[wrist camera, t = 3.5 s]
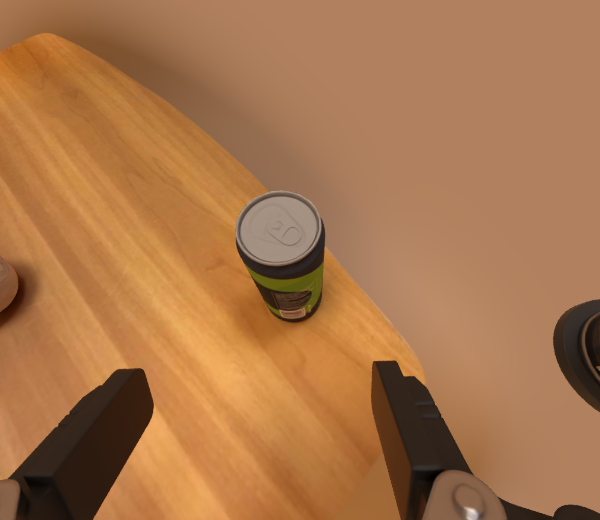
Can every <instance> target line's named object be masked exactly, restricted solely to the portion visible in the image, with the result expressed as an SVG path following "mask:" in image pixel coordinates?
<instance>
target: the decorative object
mask: <svg viewBox="0 0 600 520" xmlns="http://www.w3.org/2000/svg"><path fill="white" fill-rule="evenodd" d="M17 290H18V277H17V274H16V272H15V270H14V268H13V267H12V266H11V265H10V264H9V263H8V262H7V261H6V260H5V259H3V258H2V257H1V256H0V312H1V311H2V310H3V309H5V308H6V307H7V306H8V305H9V304H10V303H11V302H12V300H13V299H14V297H15V295H16V293H17Z"/></svg>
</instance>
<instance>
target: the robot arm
mask: <svg viewBox="0 0 600 520" xmlns="http://www.w3.org/2000/svg"><path fill="white" fill-rule="evenodd" d="M578 349H579V353H580V356H581V359H582V361H583V364H584V366H585V367H586V369H587V371H588V372H589V374H590V375H591V377H592V378H593V379H594V380H595V382H596V383H597V384H598V385H599V386H600V312H598V313H596V314H593V315H592V316H590V317H589V318H587V319H586V320H585V321H584V323H583V324H582V326H581V328H580V330H579V334H578ZM371 402H372V410H373V415H374V419H375V423H376V427H377V431H378V434H379V438H380V442H381V446H382V449H383V453H384V457H385V461H386V465H387V468H388V472H389V476H390V480H391V483H392V487H393V491H394V495H395V499H396V502H397V506H398V510H399V514H400V517H401V520H600V514H599V513H597V512H595V511H593V510H591V509H588V508H586V507H582V506H578V505H564V506H561V507H560V508H558V509H557V510H556V512H555V513H554V516H553V517H552V516H548V515H545V514H542V513H538V512H536V511H532V510H529V509H526V508H523V507H520V506H516V505H514V504H511V503H509V502H506V501H504V500H502V499H501V498H499V497H497V496H496V494H495V493H494V492H493V491H492V490H491V489H490V488H489V487H488V486H487V485H486V484H485V483H484V482H483V481H481V480H480V479H478V478H477V477H475V476H474V475H473V473H472V472H471V470H470V469H469V467H468V465H467V463H466V461H465V459H464V458H463V455H462V454H461V452H460V450H459V448H458V446H457V444H456V442H455V440H454V438H453V436H452V435H451V433H450V431H449V429H448V427H447V425H446V424H445V421H444V419H443V418H442V417H441V414H440V412H439V410H438V408H437V406H436V405H435V402H434V400H433V398H432V397H431V395H430V393H429V391H428V389H427V388H426V387H425V386H424V385H423V384H422V383H421V382H420V381H419V380H418V379H417V378H416V377H415V376H408V377H404V376H403V374H402V372H401V370H400V367H399V365H398V363H397V362H396V361H374V362H373V365H372V389H371ZM153 409H154V403H153V399H152V395H151V392H150V388H149V385H148V382H147V378H146V375H145V372H144V370H143V369H141V368H135V369H118V370H116V371H115V372H114V373H113V374H112V375H111V376H110V377H109V378H108V379H107V380H106V382H105V383H104V384H103V385H100V386H98V387H97V388H95V389H94V390H93V391H91V392H90V393H88V394H87V395H86V396H84V397H83V398H82V399H81V400H80V401H79V402H78V403H77V404H76V405H75V407H74V408H73V409H72V410H71V411H70V413H69V415H66V416H65V417H64V419H63V420H62V421H61V422H60V423H59V425H58V427H55V428H54V429H53V431H52V432H51V433H50V434H49V435H48V436H47V437H46V438H45V439H44V440H43V441H42V442H41V444H40V445H39V446H38V447H37V448H36V449H35V450H34V451H33V452H32V453H31V454H30V456H29V457H28V458H27V459H26V460H25V461H24V462H23V463H22V464H21V465H20V466H19V468H18V469H17V470H16V471H15V472H14V473H13V474H12V475H11V476H10V477H9V478H8V479H4V480H0V520H93V518H94V516H95V515H96V513H97V511H98V510H99V508H100V506H101V504H102V503H103V501H104V499H105V498H106V496H107V494H108V492H109V491H110V489H111V487H112V486H113V484H114V482H115V480H116V479H117V477H118V475H119V474H120V472H121V470H122V468H123V467H124V465H125V463H126V462H127V460H128V458H129V456H130V455H131V453H132V451H133V450H134V448H135V446H136V444H137V443H138V441H139V439H140V438H141V436H142V434H143V432H144V431H145V429H146V427H147V426H148V424H149V422H150V420H151V418H152V414H153Z"/></svg>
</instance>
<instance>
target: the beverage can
mask: <svg viewBox="0 0 600 520" xmlns="http://www.w3.org/2000/svg"><path fill="white" fill-rule="evenodd" d="M235 233H236V246H237V250H238V252H239V255H240V257H241V258H242V260H243V262H244V264H245V266H246V268H247V269H248V271H249V273H250V275H251V277H252V279H253V280H254V282H255V284H256V286H257V288H258V290H259V291H260V293H261V295H262V297H263V299H264V300H265V302H266V304H267V306H268V308H269V309H270V311H271V312H272V313H273V314H274V315H275V316H276V317H278V318H280V319H282V320H284V321H289V322H296V321H301V320H304V319H306V318H308V317H310V316H311V315H312V314H313V313H314V312H315V311H316V310H317V308H318V306H319V304H320V302H321V297H322V280H323V263H324V246H325V228H324V224H323V221H322V219H321V217H320V215H319V212H318V210H317V209H316V207H315V206H314V205H313V204H312V203H311V202H310V201H309V200H308V199H307V198H305V197H304V196H302V195H299V194H297V193H294V192H289V191H273V192H268V193H265V194H262V195H260V196H258V197H256V198H254V199H253V200H251V201H250V202H249V203H248V204H247V205H246V206H245V207H244V208H243V209H242V211H241V212H240V214H239V216H238V219H237V222H236V228H235Z"/></svg>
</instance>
